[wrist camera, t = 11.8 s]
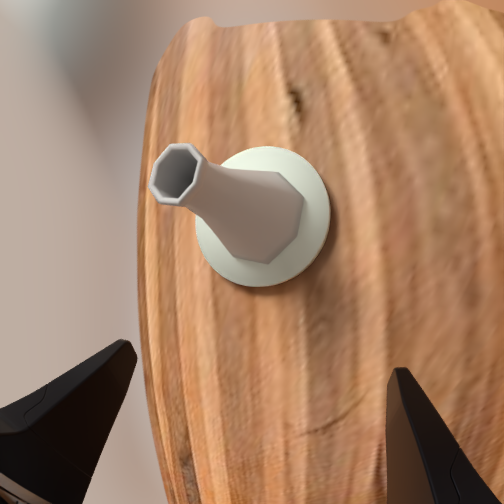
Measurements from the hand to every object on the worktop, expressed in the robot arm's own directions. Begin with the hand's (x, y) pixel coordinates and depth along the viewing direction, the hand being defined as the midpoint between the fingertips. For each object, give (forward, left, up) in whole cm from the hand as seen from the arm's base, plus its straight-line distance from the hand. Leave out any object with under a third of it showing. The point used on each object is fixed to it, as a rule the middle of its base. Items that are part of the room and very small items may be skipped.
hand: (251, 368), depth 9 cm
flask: (+9, 0, -12) cm, 15 cm away
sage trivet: (+9, 0, -13) cm, 16 cm away
